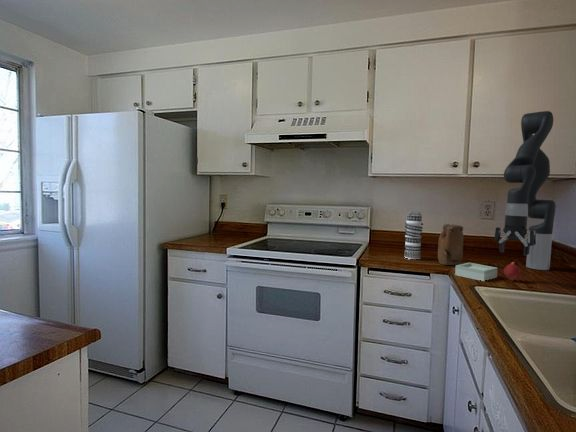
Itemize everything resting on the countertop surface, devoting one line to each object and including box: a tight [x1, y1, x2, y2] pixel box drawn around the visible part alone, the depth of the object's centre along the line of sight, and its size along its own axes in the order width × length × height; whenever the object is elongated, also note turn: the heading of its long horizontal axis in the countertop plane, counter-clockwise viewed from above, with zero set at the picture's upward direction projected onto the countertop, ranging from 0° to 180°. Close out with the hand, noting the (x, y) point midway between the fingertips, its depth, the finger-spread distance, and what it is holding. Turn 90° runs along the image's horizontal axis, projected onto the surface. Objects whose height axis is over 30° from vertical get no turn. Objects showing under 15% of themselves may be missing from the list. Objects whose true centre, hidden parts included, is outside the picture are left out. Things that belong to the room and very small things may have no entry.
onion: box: [503, 261, 521, 282], centre depth 141 cm, size 6×6×8 cm
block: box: [437, 223, 464, 266], centre depth 170 cm, size 11×8×20 cm
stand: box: [454, 262, 499, 282], centre depth 148 cm, size 12×12×4 cm
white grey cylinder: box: [403, 211, 424, 260], centre depth 183 cm, size 9×9×25 cm
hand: (513, 253), depth 140 cm, fingers open, 8 cm apart
